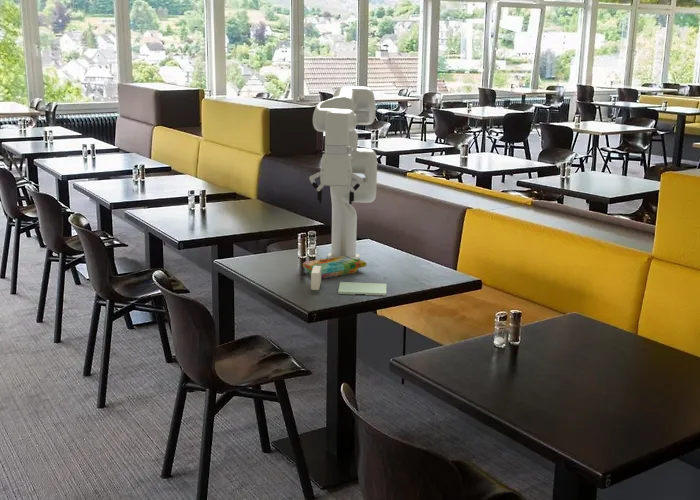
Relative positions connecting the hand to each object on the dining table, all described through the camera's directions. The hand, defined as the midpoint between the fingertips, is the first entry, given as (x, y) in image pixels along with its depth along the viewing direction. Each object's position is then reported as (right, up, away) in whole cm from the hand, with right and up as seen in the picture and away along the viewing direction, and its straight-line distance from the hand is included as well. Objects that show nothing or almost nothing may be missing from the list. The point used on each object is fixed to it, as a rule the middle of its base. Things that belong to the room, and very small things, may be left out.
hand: (335, 203), depth 256 cm
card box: (-7, -27, +14) cm, 32 cm away
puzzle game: (-1, -24, +32) cm, 40 cm away
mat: (+9, -29, +11) cm, 32 cm away
